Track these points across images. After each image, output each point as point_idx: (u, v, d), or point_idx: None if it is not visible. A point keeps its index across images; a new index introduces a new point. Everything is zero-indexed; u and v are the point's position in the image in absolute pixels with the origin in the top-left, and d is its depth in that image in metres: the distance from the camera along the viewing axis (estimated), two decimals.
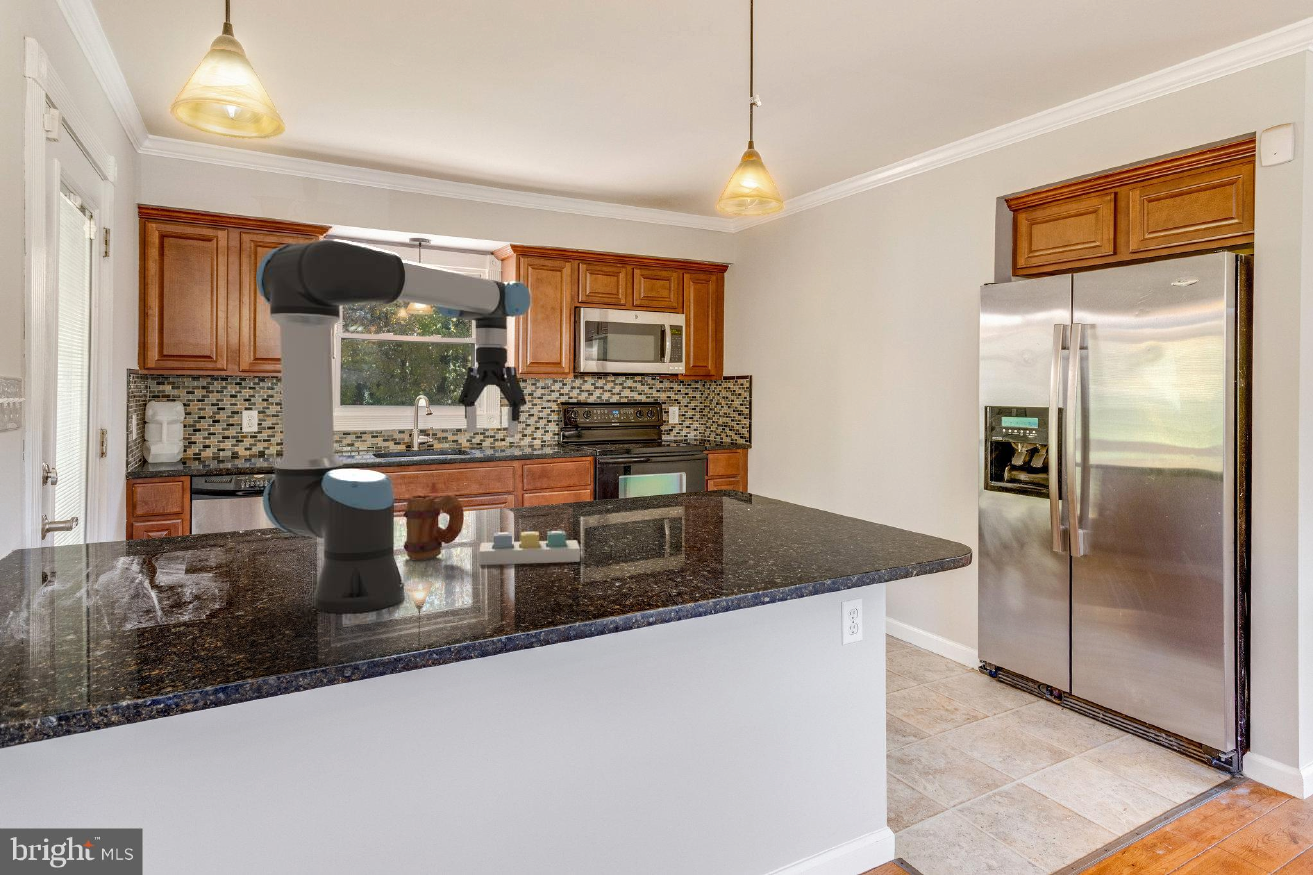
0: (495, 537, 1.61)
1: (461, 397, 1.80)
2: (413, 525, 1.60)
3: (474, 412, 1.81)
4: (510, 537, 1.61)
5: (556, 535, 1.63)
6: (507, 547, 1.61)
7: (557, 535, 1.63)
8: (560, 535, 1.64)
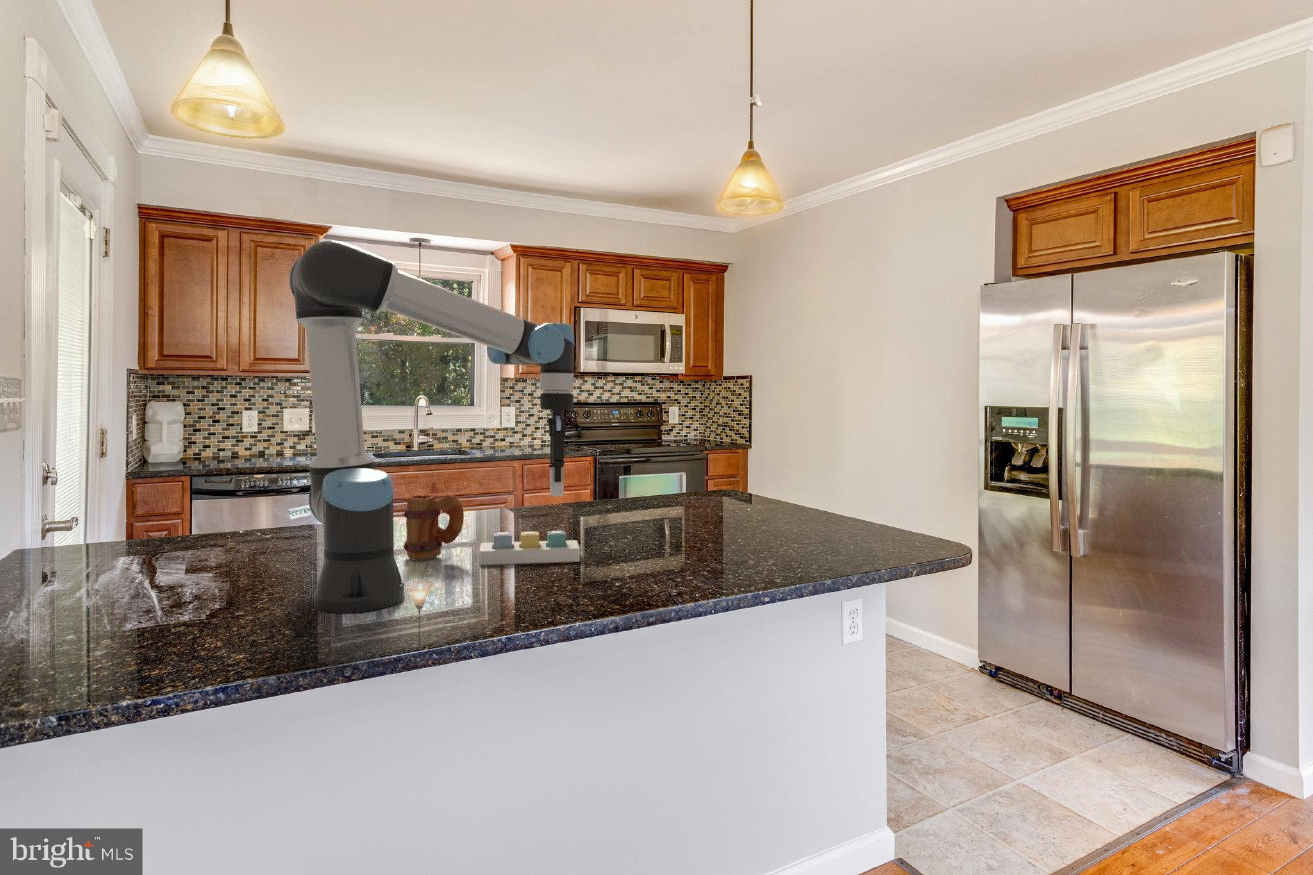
0: (495, 537, 1.61)
1: (550, 453, 1.69)
2: (413, 525, 1.60)
3: None
4: (510, 537, 1.61)
5: (556, 535, 1.63)
6: (507, 547, 1.61)
7: (557, 535, 1.63)
8: (560, 535, 1.64)
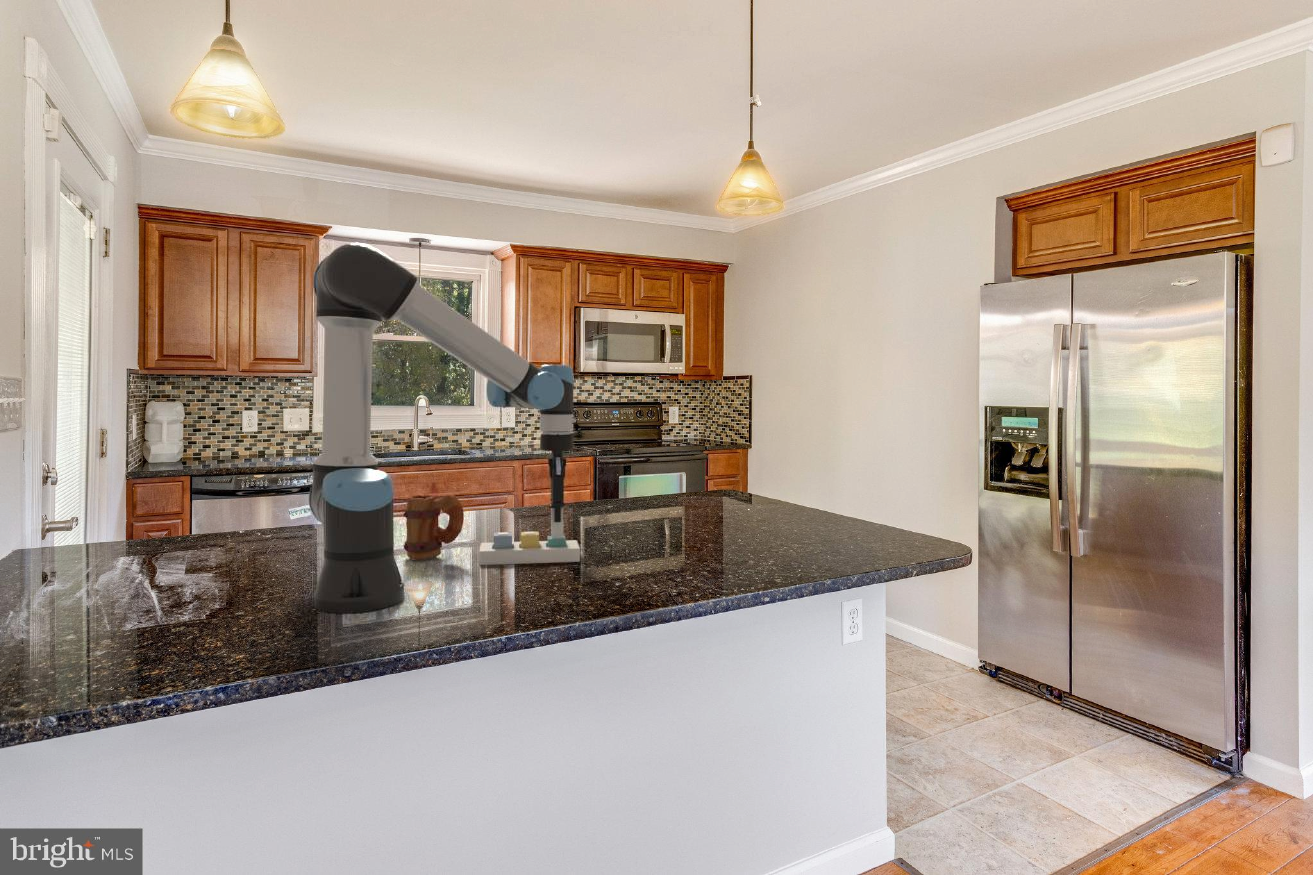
0: (495, 537, 1.61)
1: None
2: (413, 525, 1.60)
3: None
4: (510, 537, 1.61)
5: (556, 540, 1.63)
6: (507, 547, 1.61)
7: (557, 540, 1.63)
8: (560, 540, 1.64)
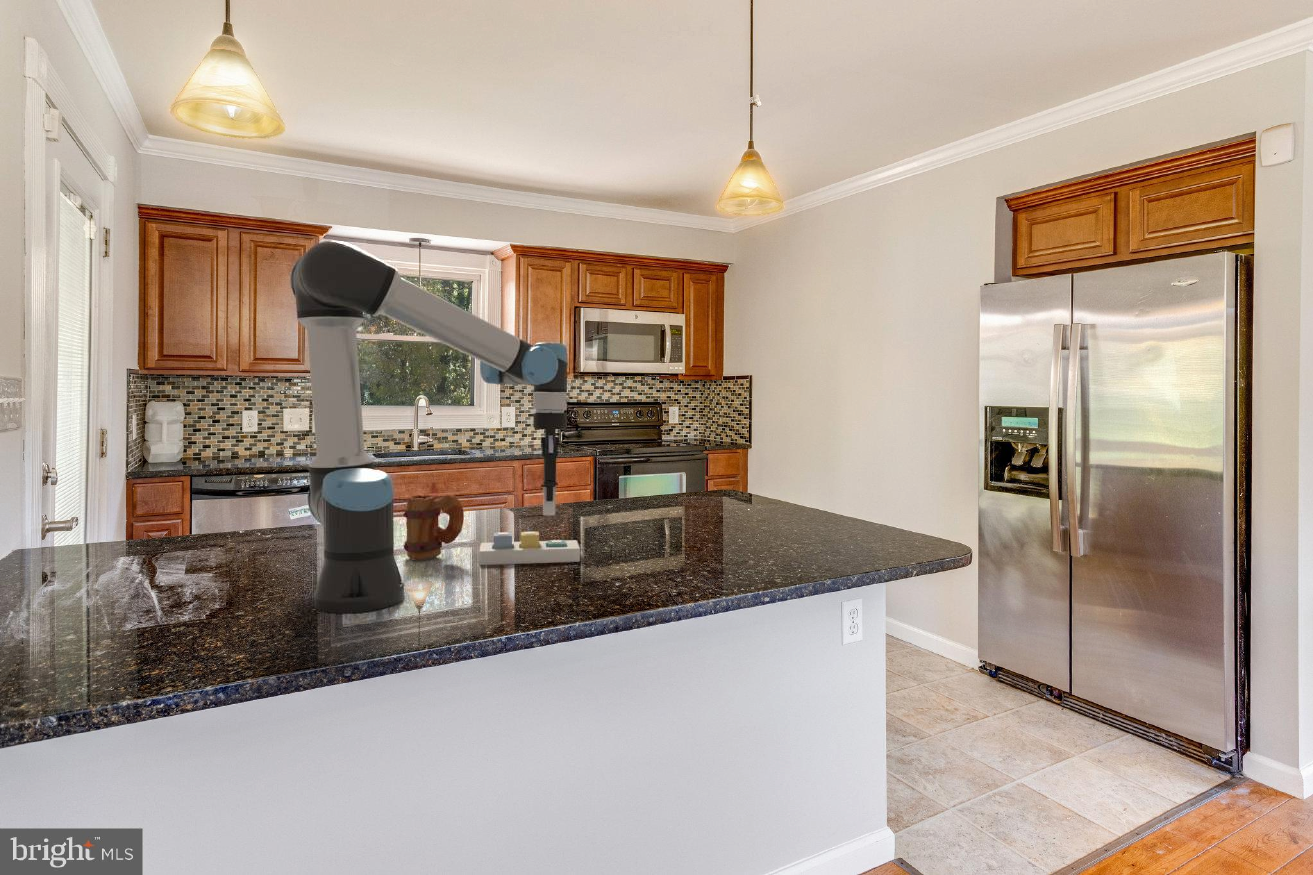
0: (495, 537, 1.61)
1: None
2: (413, 525, 1.60)
3: None
4: (510, 537, 1.61)
5: (556, 544, 1.63)
6: (507, 547, 1.61)
7: (557, 544, 1.64)
8: (560, 544, 1.64)
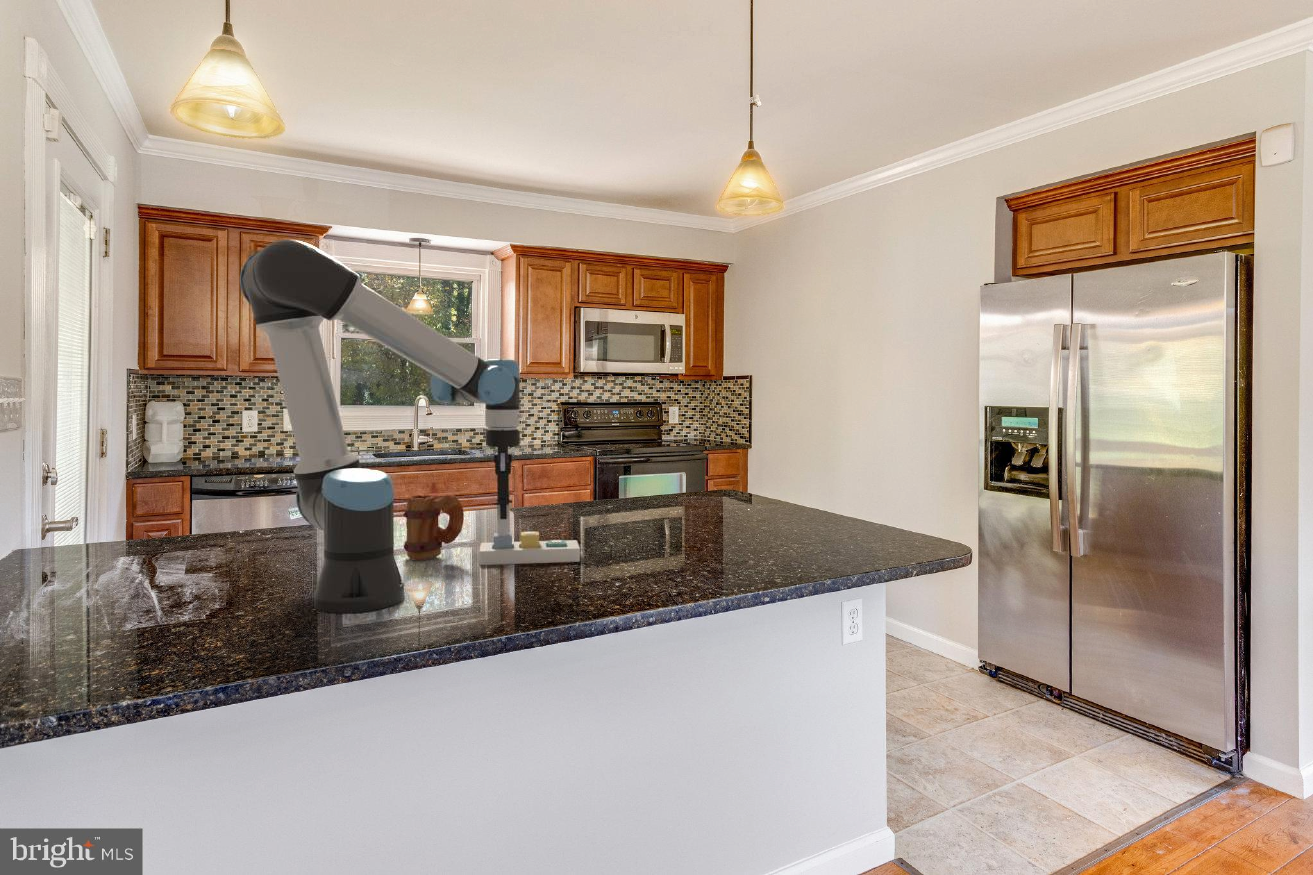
0: (495, 537, 1.61)
1: None
2: (413, 525, 1.60)
3: None
4: (510, 537, 1.61)
5: (556, 544, 1.63)
6: (507, 547, 1.61)
7: (557, 544, 1.64)
8: (560, 544, 1.64)
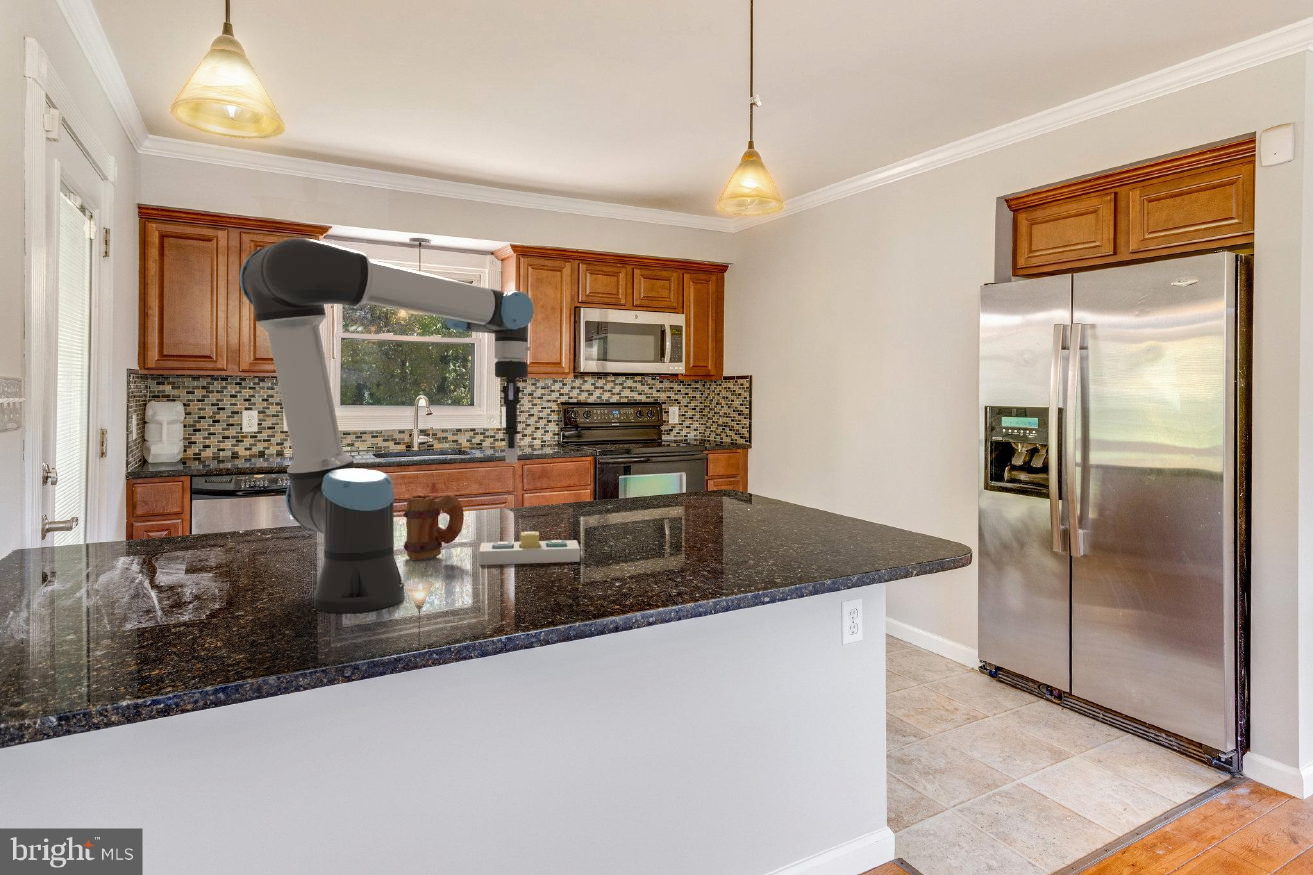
0: (495, 547, 1.61)
1: None
2: (413, 525, 1.60)
3: None
4: (510, 546, 1.61)
5: (556, 544, 1.63)
6: None
7: (557, 544, 1.64)
8: (560, 544, 1.64)
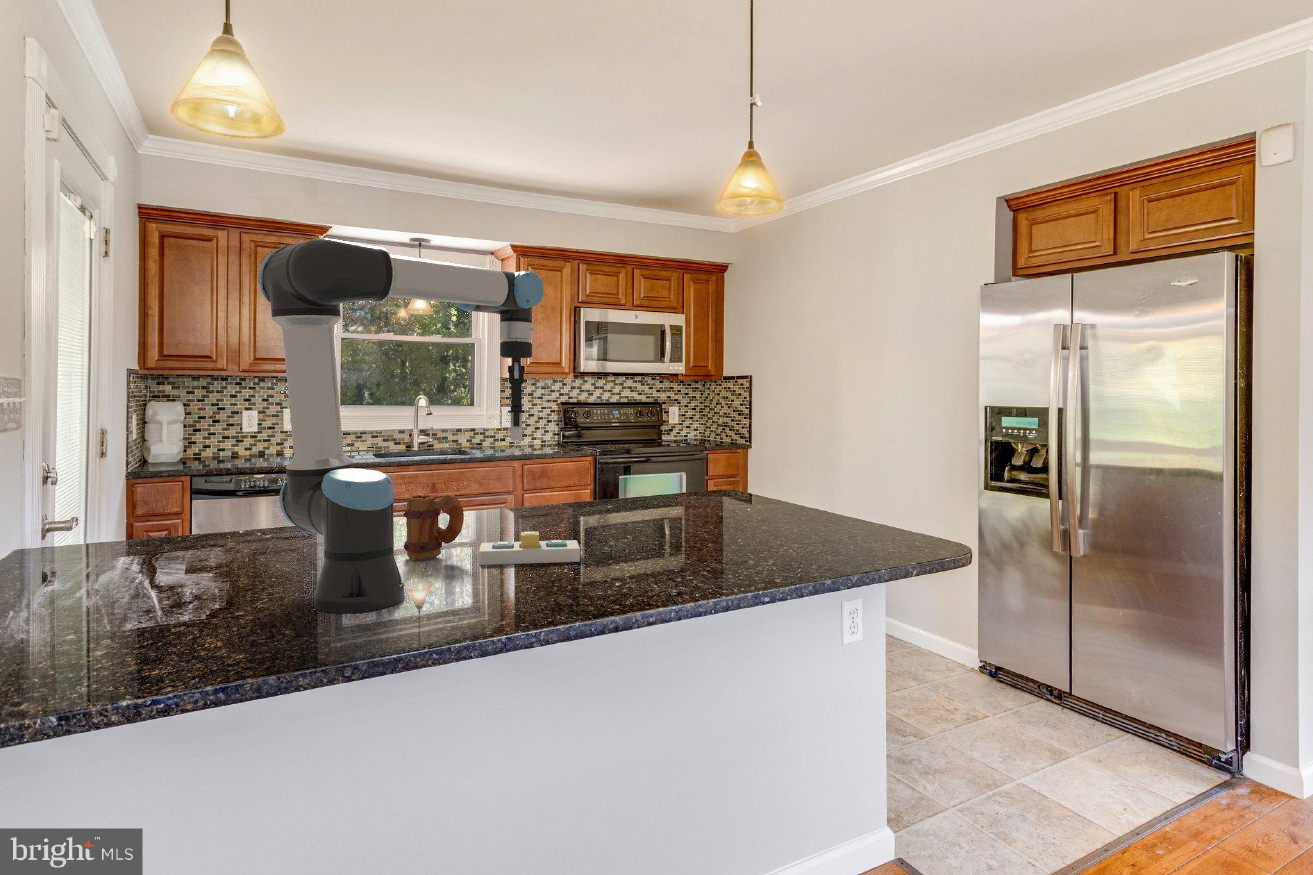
0: (495, 547, 1.61)
1: None
2: (413, 525, 1.60)
3: None
4: (510, 546, 1.61)
5: (556, 544, 1.63)
6: None
7: (557, 544, 1.64)
8: (560, 544, 1.64)
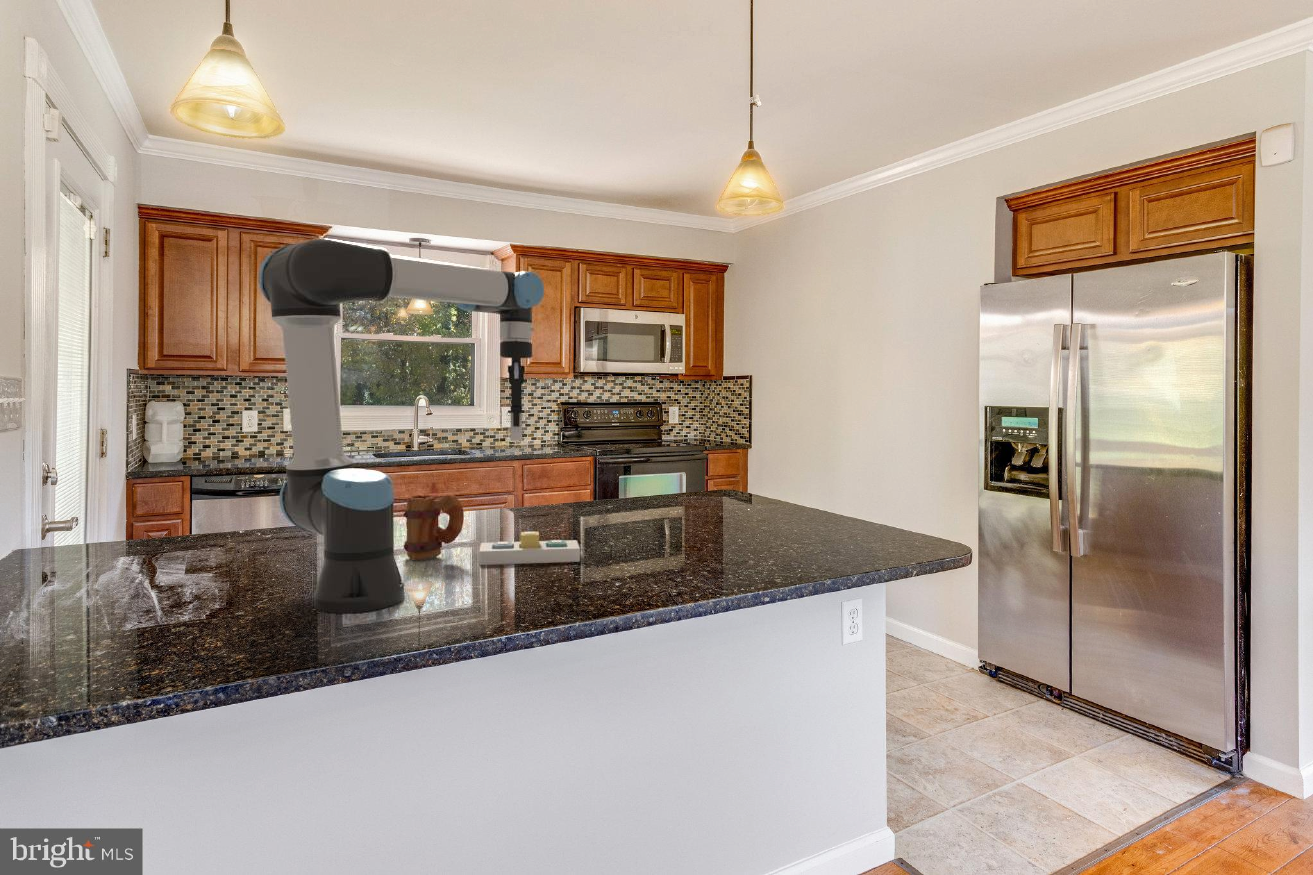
0: (495, 547, 1.61)
1: None
2: (413, 525, 1.60)
3: None
4: (510, 546, 1.61)
5: (556, 544, 1.63)
6: None
7: (557, 544, 1.64)
8: (560, 544, 1.64)
